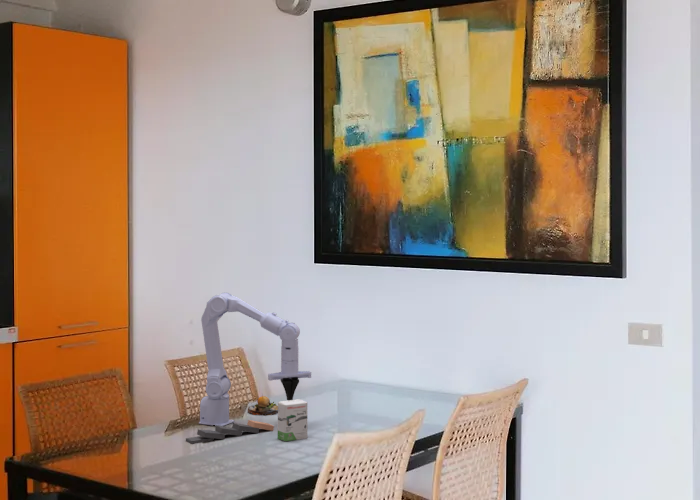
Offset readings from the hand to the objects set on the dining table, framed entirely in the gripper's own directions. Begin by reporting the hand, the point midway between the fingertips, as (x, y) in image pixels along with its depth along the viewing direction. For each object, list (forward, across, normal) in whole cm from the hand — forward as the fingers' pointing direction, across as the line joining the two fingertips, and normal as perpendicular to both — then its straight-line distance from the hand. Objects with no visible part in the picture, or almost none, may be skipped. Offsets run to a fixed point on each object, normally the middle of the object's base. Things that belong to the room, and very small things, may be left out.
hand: (289, 400), depth 314 cm
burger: (+9, +2, -24) cm, 26 cm away
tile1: (+8, +7, +2) cm, 11 cm away
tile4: (+8, +25, +6) cm, 27 cm away
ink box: (+9, +4, +15) cm, 18 cm away
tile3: (+8, +19, +4) cm, 21 cm away
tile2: (+8, +13, +3) cm, 15 cm away
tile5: (+9, +28, +7) cm, 31 cm away
